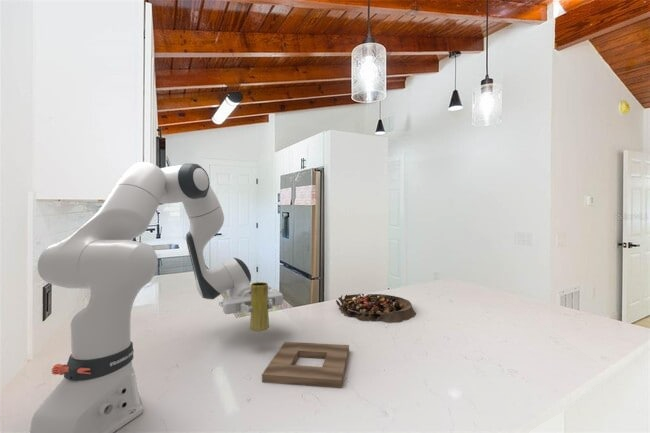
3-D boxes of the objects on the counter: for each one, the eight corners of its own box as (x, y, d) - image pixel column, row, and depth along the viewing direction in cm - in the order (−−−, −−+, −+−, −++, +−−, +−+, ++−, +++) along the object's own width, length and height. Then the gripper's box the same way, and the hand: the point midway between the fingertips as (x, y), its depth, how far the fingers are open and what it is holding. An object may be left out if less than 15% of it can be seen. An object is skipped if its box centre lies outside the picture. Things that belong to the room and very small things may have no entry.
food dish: (320, 312, 145) (320, 294, 145) (370, 299, 166) (370, 284, 166) (381, 331, 118) (380, 309, 118) (431, 312, 139) (430, 294, 139)
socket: (341, 387, 81) (341, 380, 81) (262, 381, 84) (261, 374, 84) (349, 351, 102) (349, 345, 102) (285, 347, 105) (284, 341, 105)
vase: (264, 332, 100) (264, 286, 100) (246, 330, 101) (246, 285, 101) (272, 325, 106) (271, 282, 106) (254, 324, 107) (254, 281, 107)
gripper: (217, 293, 109) (227, 303, 97) (274, 285, 120) (289, 293, 108) (217, 311, 109) (227, 324, 97) (274, 302, 120) (289, 312, 108)
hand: (260, 308), depth 103 cm, fingers closed on vase, 5 cm apart
